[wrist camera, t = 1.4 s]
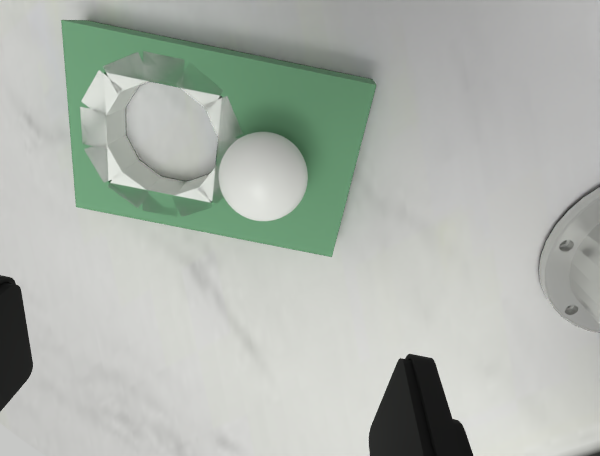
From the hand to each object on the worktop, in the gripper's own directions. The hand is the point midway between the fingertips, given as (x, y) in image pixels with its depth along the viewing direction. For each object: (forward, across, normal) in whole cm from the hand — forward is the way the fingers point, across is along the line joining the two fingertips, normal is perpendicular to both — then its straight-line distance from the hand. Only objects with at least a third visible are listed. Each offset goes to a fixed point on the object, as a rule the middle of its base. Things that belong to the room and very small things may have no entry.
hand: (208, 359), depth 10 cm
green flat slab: (+18, +4, 0) cm, 19 cm away
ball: (+13, +1, 0) cm, 13 cm away
